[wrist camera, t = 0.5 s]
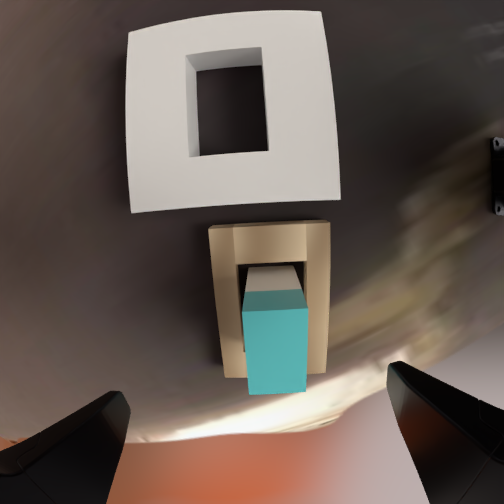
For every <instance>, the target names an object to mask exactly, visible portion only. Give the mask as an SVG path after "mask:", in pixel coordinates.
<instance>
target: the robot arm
mask: <svg viewBox="0 0 504 504" xmlns="http://www.w3.org/2000/svg"><path fill="white" fill-rule="evenodd" d="M495 142H496V143H495ZM491 154H492V175H493V205H492V210H493V213H494V214H496V215H504V139H502V138H498V137H493V138H491ZM497 207H498V210H497ZM387 390H388V393H389V397H390V400H391V403H392V406H393V410H394V413H395V416H396V420H397V423H398V426H399V428H400V431H401V433H402V436H403V438H404V440H405V443H406V445H407V448H408V450H409V452H410V455H411V457H412V460H413V462H414V464H415V467H416V469H417V472H418V474H419V477H420V479H421V482H422V484H423V487H424V490H425V492H426V495H427V497H428V500H429V503H430V504H504V410H502V409H500V408H497V407H495V406H493V405H490V404H488V403H486V402H484V401H482V400H478V399H477V398H475V397H473V396H471V395H469V394H467V393H465V392H463V391H461V390H459V389H457V388H454V387H453V386H451V385H448V384H447V383H444V382H442V381H440V380H438V379H436V378H434V377H432V376H430V375H428V374H426V373H424V372H422V371H420V370H418V369H416V368H414V367H412V366H410V365H408V364H407V363H405V362H403V361H397V362H393V363H390V364H389V365H388V372H387ZM130 414H131V410H130V407H129V405H128V403H127V401H126V399H125V397H124V395H123V394H122V392H120V391H109V392H107V393H106V394H104V395H103V396H101V397H99V398H98V399H96V400H94V401H93V402H91V403H89V404H88V405H86V406H84V407H83V408H81V409H79V410H77V411H76V412H74V413H72V414H71V415H69V416H67V417H66V418H64V419H62V420H60V421H59V422H57V423H55V424H53V425H52V426H50V427H48V428H46V429H45V430H43V431H41V432H39V433H37V434H36V435H34V436H32V437H30V438H28V439H26V440H24V441H22V442H20V443H18V444H16V445H14V446H11V447H9V448H7V449H4V450H2V451H0V504H106V502H107V499H108V495H109V492H110V489H111V485H112V482H113V479H114V475H115V472H116V469H117V466H118V463H119V460H120V457H121V453H122V450H123V446H124V442H125V438H126V433H127V428H128V424H129V419H130Z"/></svg>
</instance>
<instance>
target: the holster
mask: <svg viewBox="0 0 504 504" xmlns="http://www.w3.org/2000/svg"><path fill="white" fill-rule="evenodd" d="M208 231H209V242H210V253H211V263H212V273H213V283H214V292H215V301H216V310H217V318H218V327H219V335H220V343H221V350H222V358H223V365H224V373H225V378H243V377H248V376H247V365H246V354H245V342H244V332H243V320H242V308H241V296H240V283H239V271H238V264H253V263H273V262H292V261H304V297H305V300H306V303H307V306H308V349H307V374H317V373H325V370H326V356H327V341H328V323H329V298H330V222H328V221H327V220H301V221H279V222H259V223H242V224H225V225H212V226H211V227H210V228H209V229H208Z"/></svg>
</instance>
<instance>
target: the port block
mask: <svg viewBox="0 0 504 504" xmlns="http://www.w3.org/2000/svg"><path fill="white" fill-rule="evenodd" d="M254 65H262V75H263V88H264V101H265V115H266V129H267V144H268V151H260V152H244V153H230V154H219V155H208V156H200V152H199V134H198V113H197V86H196V71H203V70H210V69H219V68H228V67H240V66H254ZM126 149H127V168H128V182H129V194H130V205H131V213H138V212H148V211H158V210H169V209H180V208H192V207H204V206H217V205H232V204H248V203H266V202H287V201H313V200H340V173H339V155H338V140H337V127H336V116H335V106H334V96H333V88H332V79H331V72H330V64H329V57H328V51H327V44H326V38H325V32H324V26H323V21H322V15H321V12H318V11H291V10H278V11H251V12H237V13H227V14H218V15H210V16H203V17H196V18H190V19H185V20H179V21H174V22H169V23H165V24H160V25H156V26H152V27H148V28H144V29H140V30H137V31H133V32H130V33H129V37H128V50H127V68H126Z"/></svg>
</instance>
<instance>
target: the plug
mask: <svg viewBox="0 0 504 504" xmlns="http://www.w3.org/2000/svg"><path fill="white" fill-rule="evenodd" d="M242 318H243V330H244V342H245V354H246V365H247V376H248V387H249V395H254V394H279V393H295V392H306V376H307V349H308V306H307V303H306V300H305V297H304V294H303V291H302V288H301V286H300V283H299V280H298V277H297V274H296V271H295V268H294V266H293V265H287V266H268V267H249V269H248V276H247V282H246V289H245V295H244V302H243V308H242Z"/></svg>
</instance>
